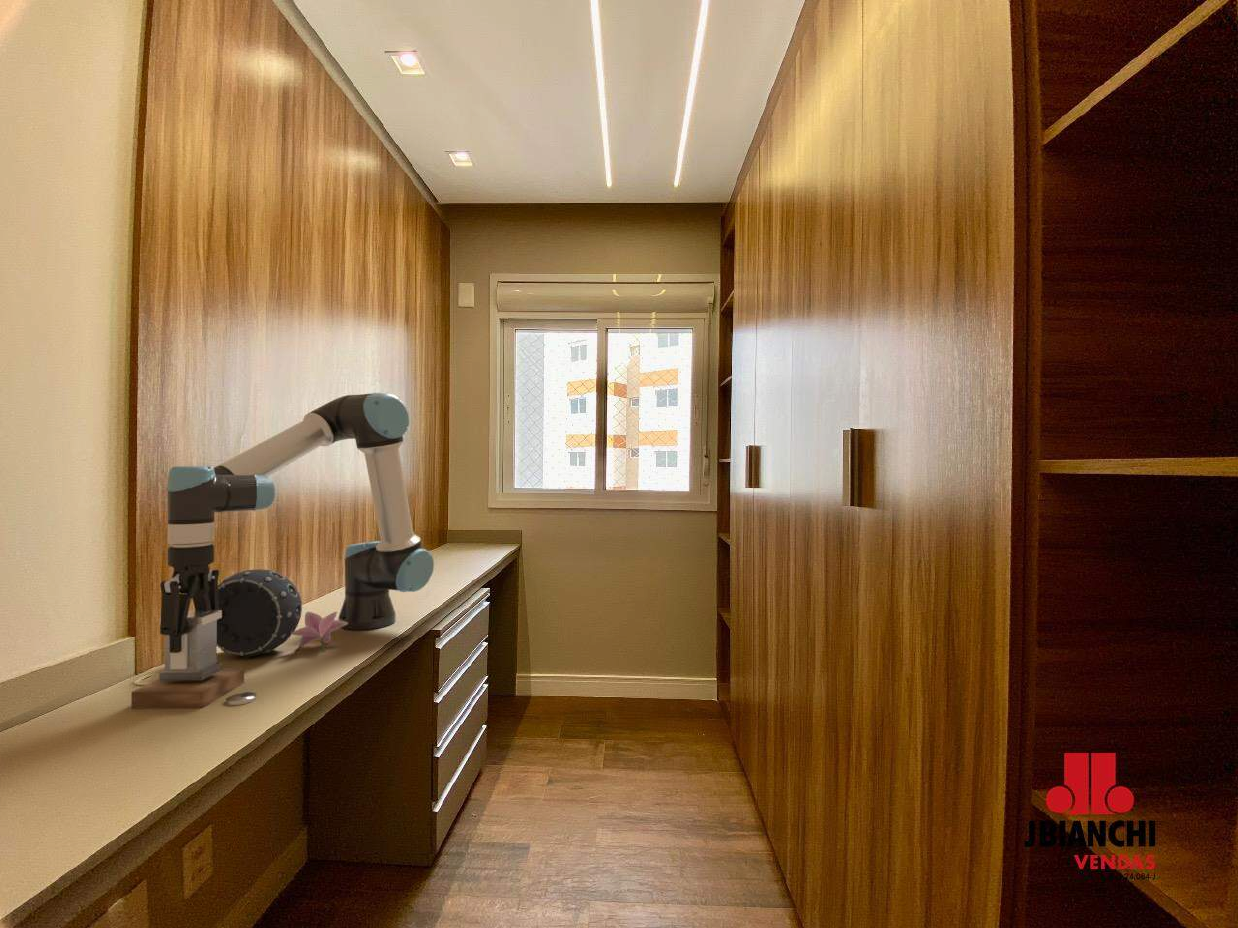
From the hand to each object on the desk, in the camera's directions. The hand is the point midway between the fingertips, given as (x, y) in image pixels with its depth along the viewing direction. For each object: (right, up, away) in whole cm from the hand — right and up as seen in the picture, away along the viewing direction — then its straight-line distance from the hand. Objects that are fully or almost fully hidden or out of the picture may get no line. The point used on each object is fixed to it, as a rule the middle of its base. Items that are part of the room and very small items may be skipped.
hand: (191, 662), depth 120 cm
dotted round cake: (-3, -7, +26) cm, 27 cm away
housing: (0, -3, 0) cm, 3 cm away
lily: (+10, -7, +31) cm, 33 cm away
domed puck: (+12, -7, -3) cm, 14 cm away
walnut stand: (0, -6, 0) cm, 6 cm away
